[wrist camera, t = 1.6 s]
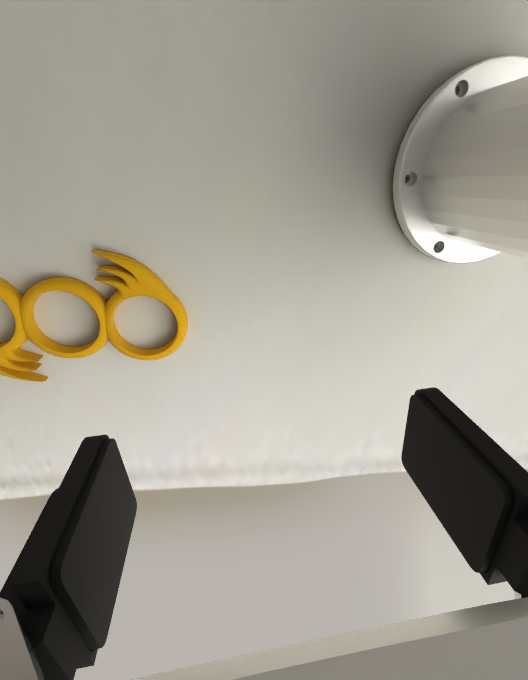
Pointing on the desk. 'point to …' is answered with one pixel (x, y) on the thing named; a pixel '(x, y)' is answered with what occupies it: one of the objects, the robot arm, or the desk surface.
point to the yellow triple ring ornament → (133, 283)
